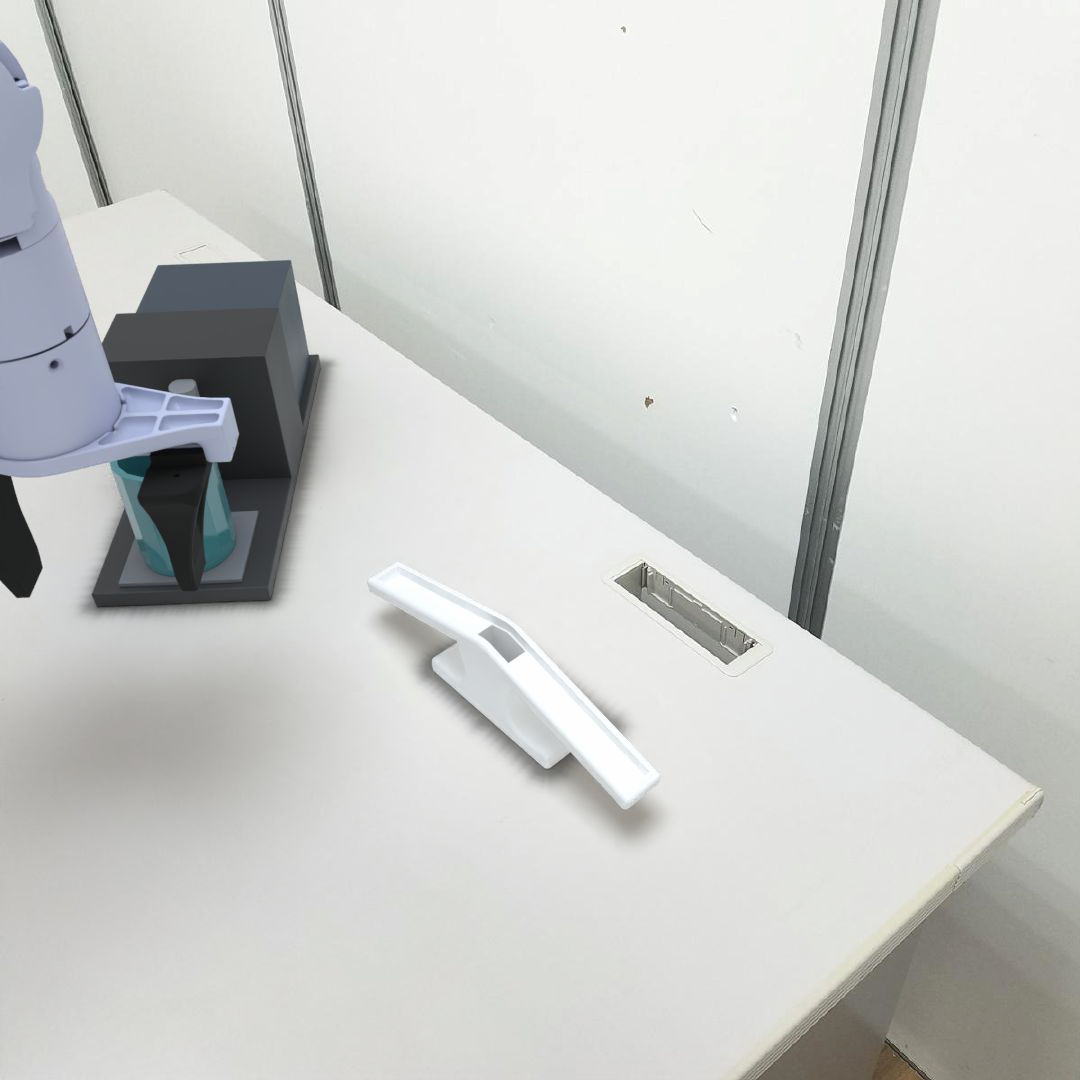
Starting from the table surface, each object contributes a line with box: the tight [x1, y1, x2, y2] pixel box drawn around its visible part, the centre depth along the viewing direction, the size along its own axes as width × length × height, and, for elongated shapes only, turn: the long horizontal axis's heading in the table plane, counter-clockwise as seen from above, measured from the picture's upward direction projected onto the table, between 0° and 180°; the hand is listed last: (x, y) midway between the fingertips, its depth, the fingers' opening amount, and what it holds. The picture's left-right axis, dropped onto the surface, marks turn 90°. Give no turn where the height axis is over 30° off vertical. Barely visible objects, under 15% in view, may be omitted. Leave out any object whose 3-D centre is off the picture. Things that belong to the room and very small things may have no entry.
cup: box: [108, 456, 236, 577], centre depth 65 cm, size 5×5×7 cm
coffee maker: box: [91, 259, 322, 607], centre depth 71 cm, size 24×10×10 cm, turn 2°
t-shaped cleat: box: [366, 561, 662, 810], centre depth 57 cm, size 4×20×5 cm, turn 42°
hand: (111, 579), depth 53 cm, fingers open, 7 cm apart
